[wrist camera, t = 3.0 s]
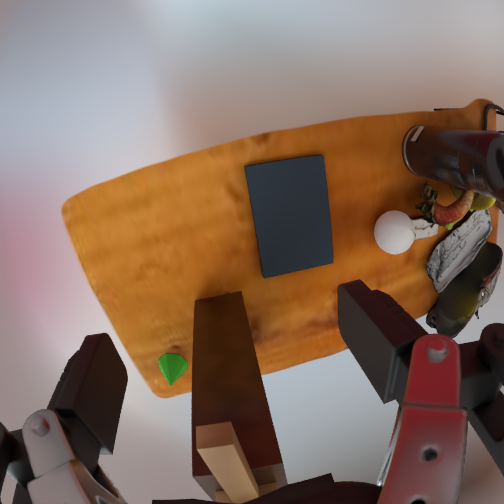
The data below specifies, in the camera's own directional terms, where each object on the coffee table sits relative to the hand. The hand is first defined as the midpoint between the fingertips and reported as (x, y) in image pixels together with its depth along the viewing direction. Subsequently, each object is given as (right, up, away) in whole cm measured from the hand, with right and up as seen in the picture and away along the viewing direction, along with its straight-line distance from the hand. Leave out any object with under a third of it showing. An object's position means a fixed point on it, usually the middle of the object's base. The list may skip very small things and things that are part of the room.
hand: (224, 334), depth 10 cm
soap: (+33, +7, +40) cm, 52 cm away
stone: (+49, +1, +44) cm, 66 cm away
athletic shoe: (+48, -5, +38) cm, 62 cm away
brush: (0, -17, +11) cm, 20 cm away
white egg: (+25, +2, +37) cm, 44 cm away
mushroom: (+33, +6, +33) cm, 48 cm away
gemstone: (-14, -19, +45) cm, 51 cm away
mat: (+7, +8, +37) cm, 39 cm away
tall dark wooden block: (-4, -10, +43) cm, 44 cm away
